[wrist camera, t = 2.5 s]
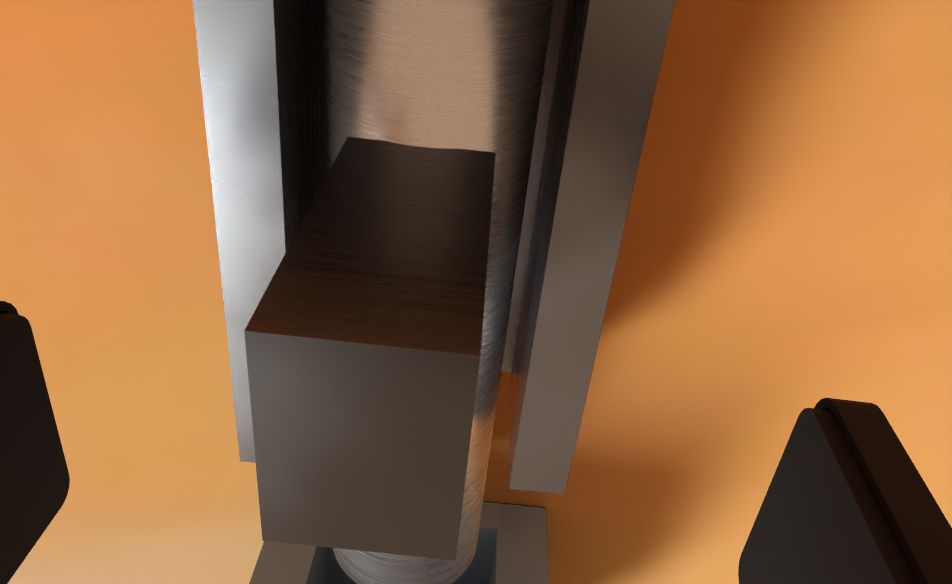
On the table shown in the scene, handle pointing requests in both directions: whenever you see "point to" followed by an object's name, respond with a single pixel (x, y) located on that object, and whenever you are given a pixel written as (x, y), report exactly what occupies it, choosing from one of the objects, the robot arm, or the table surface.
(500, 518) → the socket block
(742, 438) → the table surface
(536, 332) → the sleeve
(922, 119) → the table surface
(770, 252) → the table surface
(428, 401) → the sliding bolt
